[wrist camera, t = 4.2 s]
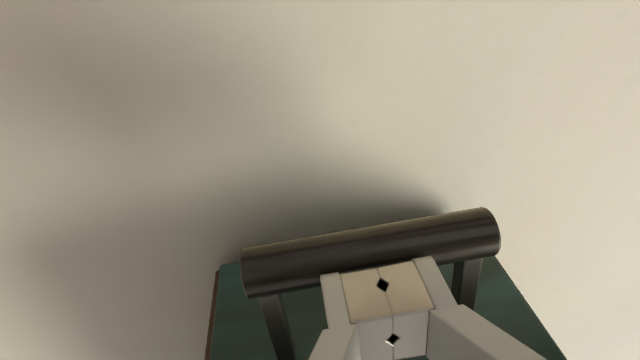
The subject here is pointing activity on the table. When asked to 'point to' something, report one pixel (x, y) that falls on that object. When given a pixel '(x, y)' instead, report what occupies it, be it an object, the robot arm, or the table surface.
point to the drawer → (354, 253)
